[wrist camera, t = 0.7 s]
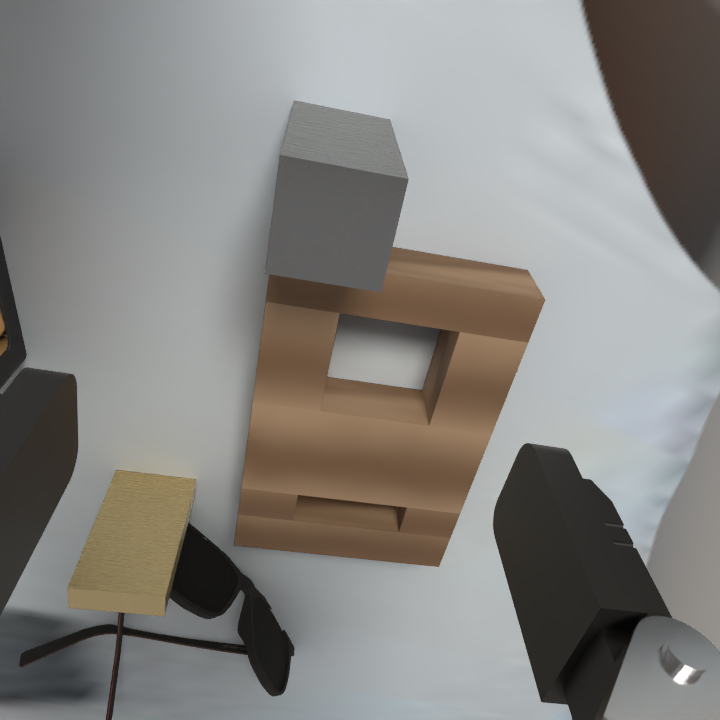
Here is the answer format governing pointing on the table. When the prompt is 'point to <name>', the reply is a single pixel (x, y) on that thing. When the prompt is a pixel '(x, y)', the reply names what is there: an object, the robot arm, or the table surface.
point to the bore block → (379, 411)
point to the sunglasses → (207, 600)
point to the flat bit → (134, 545)
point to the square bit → (336, 198)
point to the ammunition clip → (8, 327)
